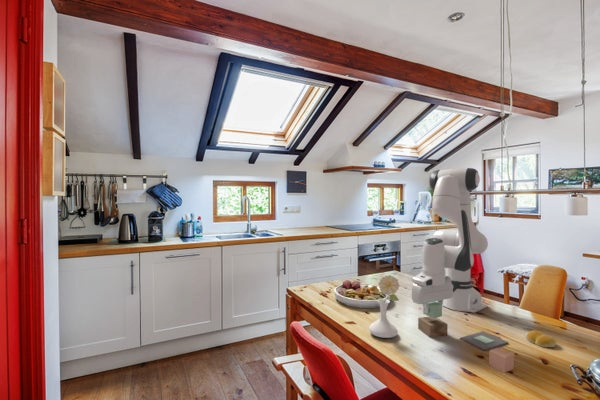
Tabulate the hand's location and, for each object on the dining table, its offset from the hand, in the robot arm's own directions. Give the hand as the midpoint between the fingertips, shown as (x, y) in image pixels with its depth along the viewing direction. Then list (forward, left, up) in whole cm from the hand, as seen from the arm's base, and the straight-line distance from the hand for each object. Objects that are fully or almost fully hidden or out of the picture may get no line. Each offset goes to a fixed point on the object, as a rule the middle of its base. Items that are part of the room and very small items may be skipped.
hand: (432, 311), depth 126 cm
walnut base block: (0, 0, -9) cm, 9 cm away
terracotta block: (0, +28, -9) cm, 29 cm away
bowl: (+3, -44, -9) cm, 45 cm away
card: (-12, +14, -9) cm, 20 cm away
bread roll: (-32, +23, -9) cm, 41 cm away
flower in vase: (+20, -6, -9) cm, 23 cm away
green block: (0, 0, -2) cm, 2 cm away
